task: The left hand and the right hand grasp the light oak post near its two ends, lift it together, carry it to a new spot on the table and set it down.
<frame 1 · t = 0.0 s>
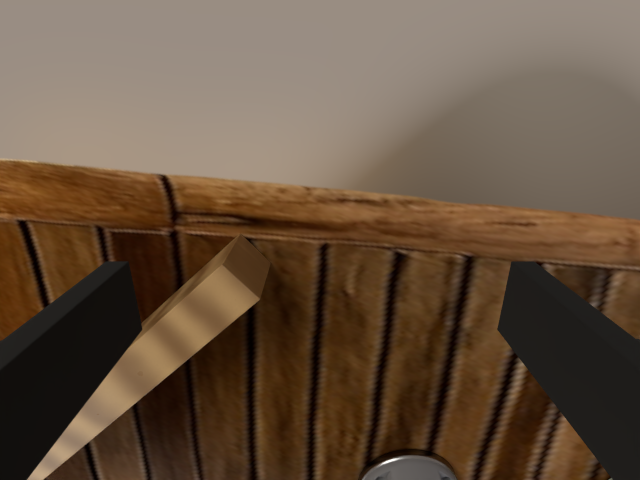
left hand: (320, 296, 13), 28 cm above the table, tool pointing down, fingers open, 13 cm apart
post: (109, 377, 49), on the table
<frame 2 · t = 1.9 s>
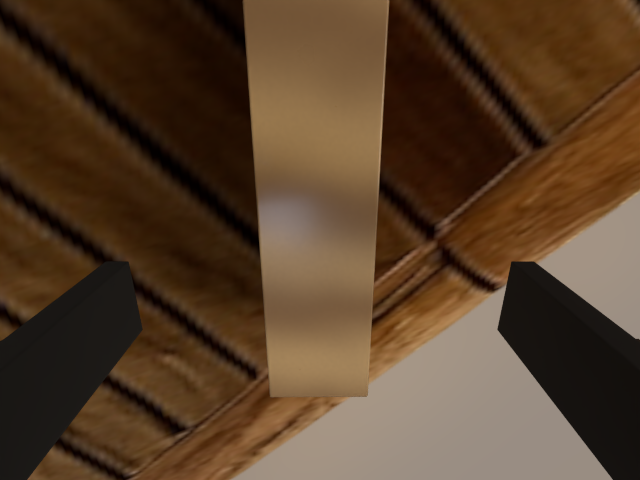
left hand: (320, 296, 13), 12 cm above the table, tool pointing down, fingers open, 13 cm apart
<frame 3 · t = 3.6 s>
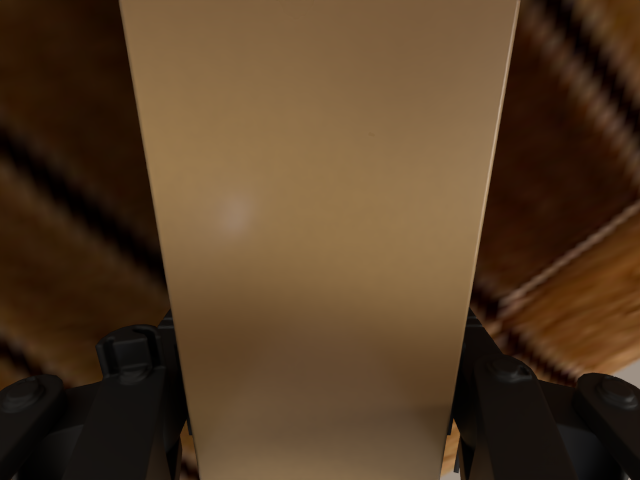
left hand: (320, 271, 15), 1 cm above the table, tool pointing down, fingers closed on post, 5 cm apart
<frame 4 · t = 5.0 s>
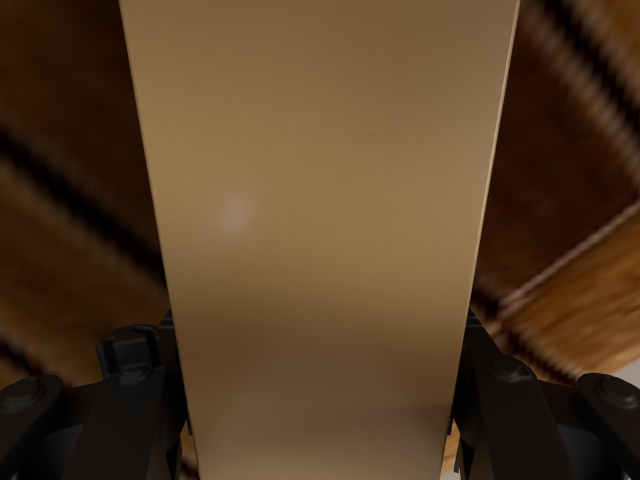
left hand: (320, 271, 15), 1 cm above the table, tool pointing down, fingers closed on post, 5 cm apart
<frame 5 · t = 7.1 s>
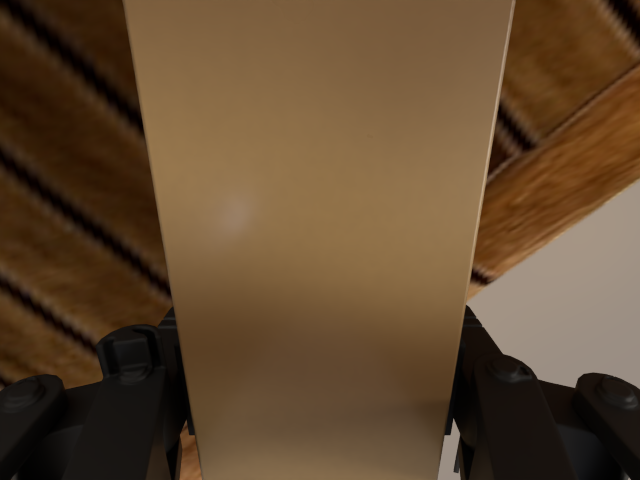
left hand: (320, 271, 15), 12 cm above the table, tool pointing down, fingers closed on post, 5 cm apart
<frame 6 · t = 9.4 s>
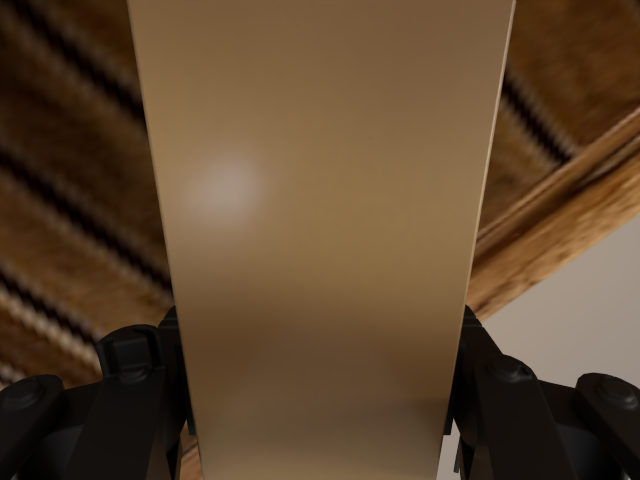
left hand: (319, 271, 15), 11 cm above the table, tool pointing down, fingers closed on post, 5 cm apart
when the left hand's fingers open (2 cm above the table, at t = 10.9 s): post drops 2 cm, on the table.
when the right hand's fingers open (5 cm above the table, at t = 11.1 s): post stays where it is, on the table.
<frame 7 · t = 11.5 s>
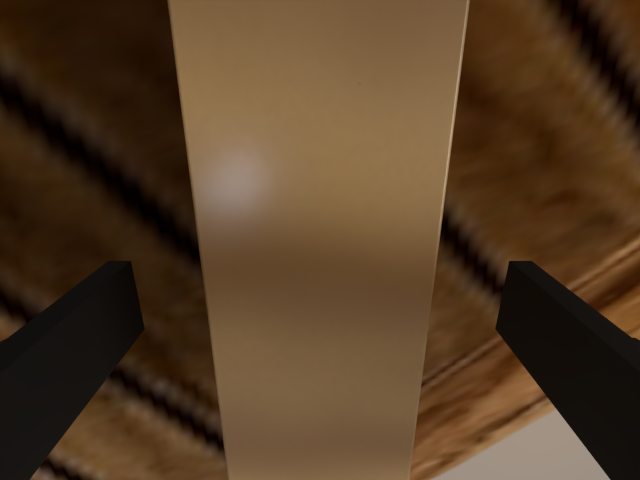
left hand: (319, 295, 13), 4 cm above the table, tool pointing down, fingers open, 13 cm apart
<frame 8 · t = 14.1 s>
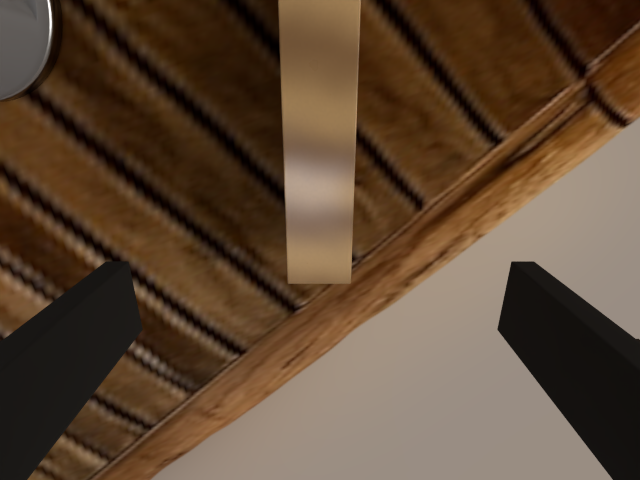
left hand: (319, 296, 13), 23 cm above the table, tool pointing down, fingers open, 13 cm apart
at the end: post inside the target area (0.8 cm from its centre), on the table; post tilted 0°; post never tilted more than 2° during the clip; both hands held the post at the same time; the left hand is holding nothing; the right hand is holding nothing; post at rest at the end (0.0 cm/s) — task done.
